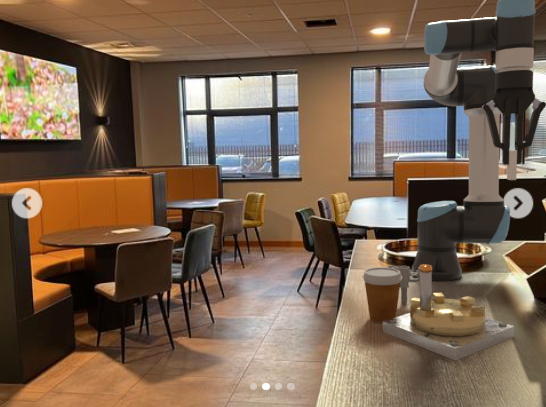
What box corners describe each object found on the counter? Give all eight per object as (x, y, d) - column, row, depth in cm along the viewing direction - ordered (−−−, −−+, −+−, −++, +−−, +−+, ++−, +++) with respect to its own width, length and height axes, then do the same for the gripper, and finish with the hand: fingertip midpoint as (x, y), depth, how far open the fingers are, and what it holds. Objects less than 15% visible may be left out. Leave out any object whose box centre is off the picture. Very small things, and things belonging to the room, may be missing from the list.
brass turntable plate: (496, 320, 118) (497, 259, 116) (466, 341, 107) (467, 274, 105) (430, 306, 129) (430, 250, 127) (397, 324, 117) (396, 263, 116)
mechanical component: (424, 305, 138) (424, 268, 137) (384, 304, 140) (384, 268, 139) (423, 302, 141) (423, 265, 140) (384, 301, 143) (384, 265, 142)
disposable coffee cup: (379, 328, 123) (379, 279, 121) (355, 317, 131) (354, 270, 130) (410, 321, 127) (410, 272, 126) (385, 310, 136) (385, 265, 134)
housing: (439, 313, 132) (440, 302, 131) (514, 336, 115) (514, 324, 115) (382, 331, 121) (382, 319, 121) (455, 360, 104) (455, 346, 104)
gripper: (542, 70, 115) (539, 177, 118) (479, 74, 119) (478, 178, 122) (551, 66, 108) (548, 180, 111) (484, 70, 111) (482, 181, 114)
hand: (511, 179), depth 116 cm, fingers closed
